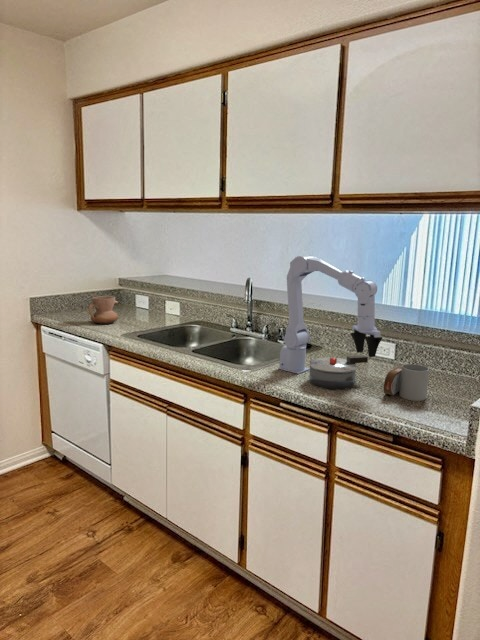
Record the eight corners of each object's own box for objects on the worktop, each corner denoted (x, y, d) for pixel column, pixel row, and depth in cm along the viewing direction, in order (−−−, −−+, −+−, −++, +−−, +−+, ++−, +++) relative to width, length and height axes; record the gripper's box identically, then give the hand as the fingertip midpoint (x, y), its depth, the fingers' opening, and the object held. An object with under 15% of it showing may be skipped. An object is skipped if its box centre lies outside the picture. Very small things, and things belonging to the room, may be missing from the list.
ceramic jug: (110, 318, 278) (109, 294, 275) (125, 322, 268) (124, 296, 266) (82, 323, 265) (80, 297, 262) (97, 327, 255) (95, 300, 252)
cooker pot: (300, 382, 173) (301, 366, 172) (329, 370, 189) (330, 355, 188) (341, 393, 163) (342, 376, 162) (368, 379, 179) (369, 363, 178)
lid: (321, 374, 163) (322, 365, 163) (302, 361, 179) (302, 353, 178) (377, 370, 169) (378, 362, 168) (354, 358, 184) (354, 350, 184)
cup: (429, 396, 163) (433, 367, 161) (420, 402, 157) (423, 372, 155) (405, 390, 168) (408, 362, 166) (395, 396, 162) (397, 367, 160)
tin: (399, 386, 173) (401, 363, 171) (407, 388, 171) (410, 364, 169) (381, 396, 161) (383, 372, 160) (390, 399, 159) (392, 374, 158)
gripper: (388, 317, 162) (388, 357, 164) (364, 312, 176) (364, 349, 178) (370, 319, 160) (370, 359, 162) (347, 314, 174) (347, 351, 176)
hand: (365, 354), depth 170 cm, fingers open, 7 cm apart
